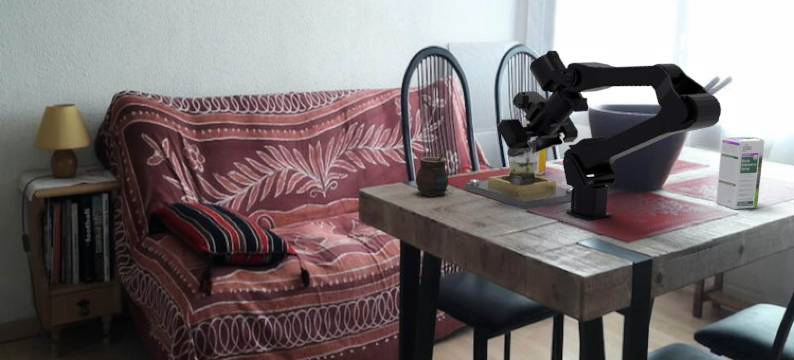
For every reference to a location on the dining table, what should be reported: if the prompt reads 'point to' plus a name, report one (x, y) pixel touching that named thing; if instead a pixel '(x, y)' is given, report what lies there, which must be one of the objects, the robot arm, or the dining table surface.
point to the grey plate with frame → (521, 191)
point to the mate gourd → (432, 176)
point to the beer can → (538, 157)
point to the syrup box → (740, 172)
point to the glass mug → (524, 165)
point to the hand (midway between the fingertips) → (519, 153)
